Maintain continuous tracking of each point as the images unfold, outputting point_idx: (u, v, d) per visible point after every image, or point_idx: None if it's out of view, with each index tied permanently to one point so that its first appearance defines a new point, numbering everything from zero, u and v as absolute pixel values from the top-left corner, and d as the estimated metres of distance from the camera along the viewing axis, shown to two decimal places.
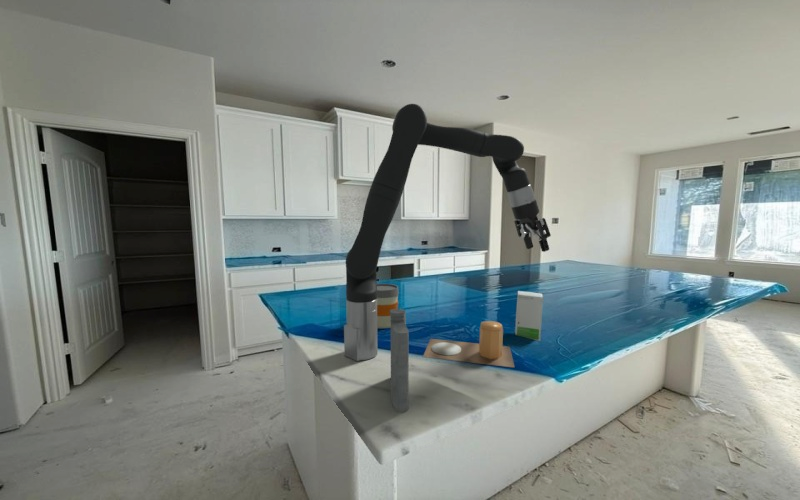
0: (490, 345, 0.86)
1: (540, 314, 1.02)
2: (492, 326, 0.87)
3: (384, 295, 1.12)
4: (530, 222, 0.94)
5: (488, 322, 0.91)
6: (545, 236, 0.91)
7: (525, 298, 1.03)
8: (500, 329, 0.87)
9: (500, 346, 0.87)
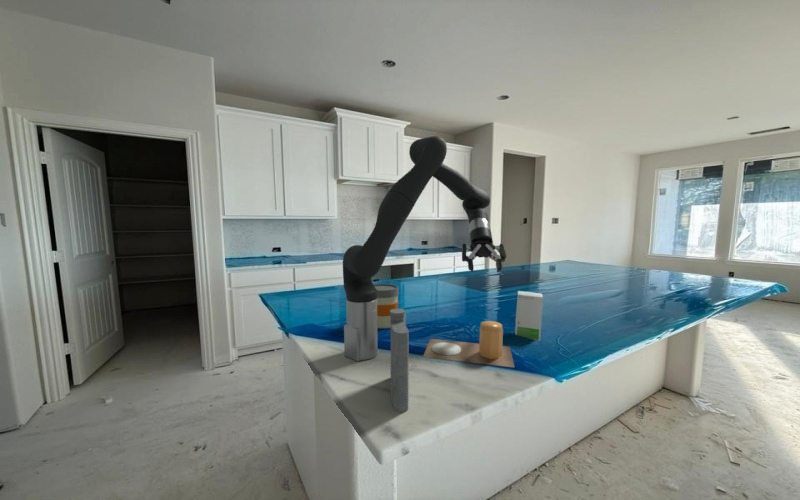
0: (490, 345, 0.86)
1: (540, 314, 1.02)
2: (492, 326, 0.87)
3: (384, 295, 1.12)
4: (490, 245, 1.04)
5: (488, 322, 0.91)
6: None
7: (525, 298, 1.03)
8: (500, 329, 0.87)
9: (500, 346, 0.87)
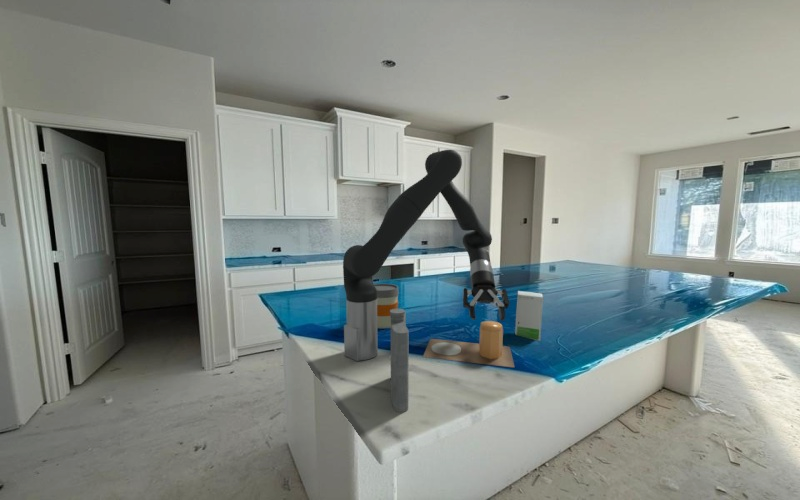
0: (490, 345, 0.86)
1: (540, 314, 1.02)
2: (492, 326, 0.87)
3: (384, 295, 1.12)
4: (492, 290, 0.99)
5: (488, 322, 0.91)
6: None
7: (525, 298, 1.03)
8: (500, 329, 0.87)
9: (500, 346, 0.87)
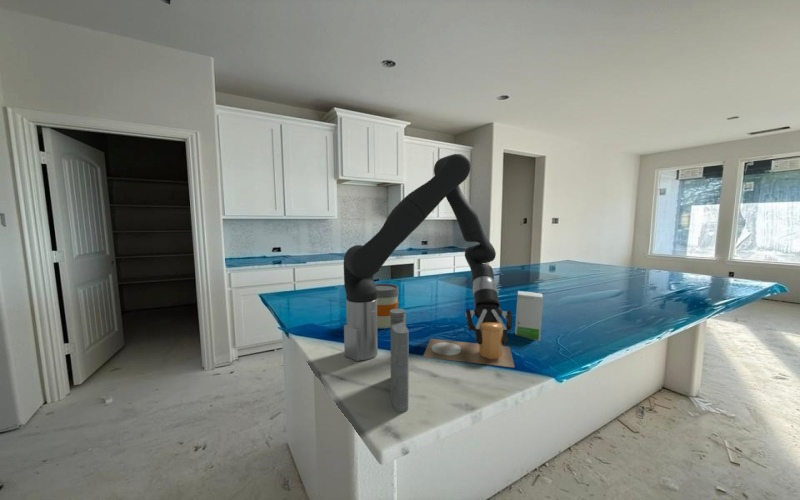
0: (490, 345, 0.86)
1: (540, 314, 1.02)
2: (492, 326, 0.87)
3: (384, 295, 1.12)
4: (497, 310, 0.93)
5: (488, 322, 0.91)
6: None
7: (525, 298, 1.03)
8: (500, 329, 0.87)
9: (500, 346, 0.87)
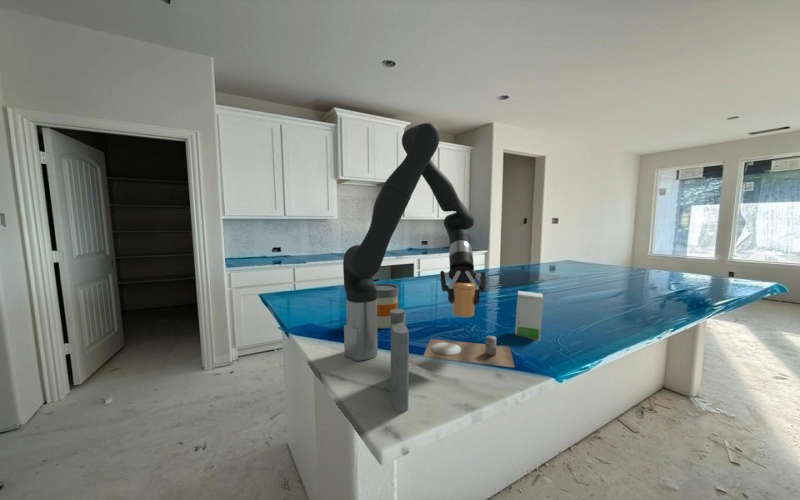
0: (462, 303, 0.87)
1: (540, 314, 1.02)
2: (464, 285, 0.88)
3: (384, 295, 1.12)
4: (471, 272, 0.93)
5: (461, 282, 0.91)
6: None
7: (525, 298, 1.03)
8: (472, 288, 0.87)
9: (472, 305, 0.88)
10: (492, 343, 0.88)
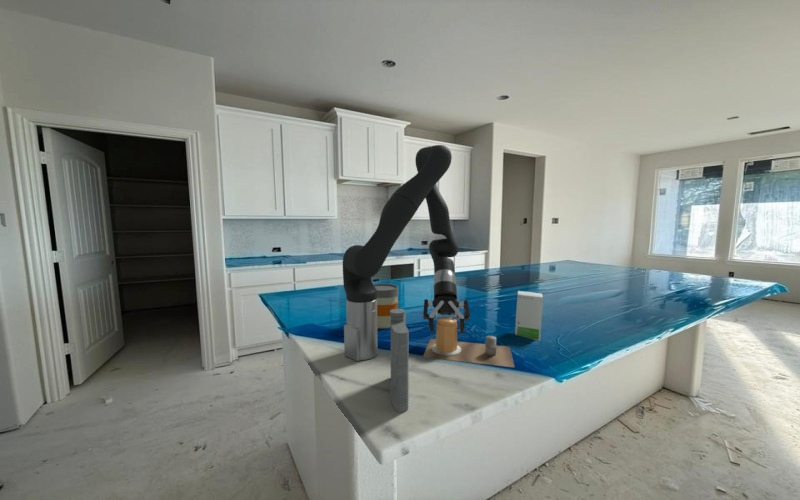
0: (444, 339, 0.90)
1: (540, 314, 1.02)
2: (447, 321, 0.91)
3: (384, 295, 1.12)
4: (454, 301, 0.96)
5: (444, 317, 0.94)
6: None
7: (525, 298, 1.03)
8: (454, 324, 0.90)
9: (454, 340, 0.91)
10: (492, 343, 0.88)
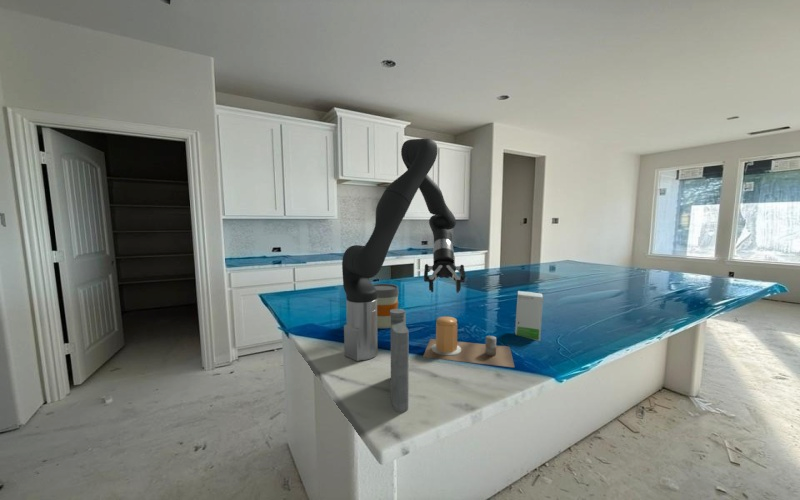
0: (444, 339, 0.90)
1: (540, 314, 1.02)
2: (447, 321, 0.91)
3: (384, 295, 1.12)
4: (451, 266, 1.08)
5: (444, 317, 0.94)
6: None
7: (525, 298, 1.03)
8: (454, 324, 0.90)
9: (454, 340, 0.91)
10: (492, 343, 0.88)
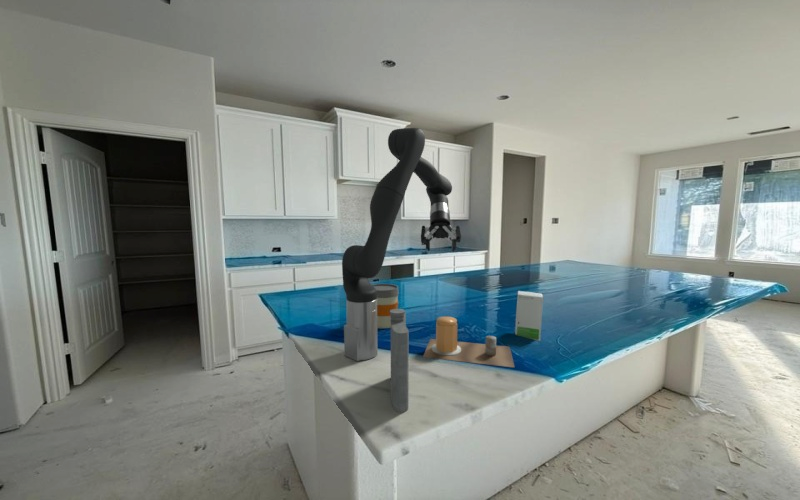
0: (444, 339, 0.90)
1: (540, 314, 1.02)
2: (447, 321, 0.91)
3: (384, 295, 1.12)
4: (447, 227, 1.11)
5: (444, 317, 0.94)
6: None
7: (525, 298, 1.03)
8: (454, 324, 0.90)
9: (454, 340, 0.91)
10: (492, 343, 0.88)
